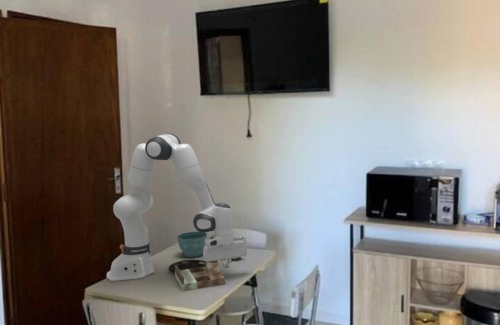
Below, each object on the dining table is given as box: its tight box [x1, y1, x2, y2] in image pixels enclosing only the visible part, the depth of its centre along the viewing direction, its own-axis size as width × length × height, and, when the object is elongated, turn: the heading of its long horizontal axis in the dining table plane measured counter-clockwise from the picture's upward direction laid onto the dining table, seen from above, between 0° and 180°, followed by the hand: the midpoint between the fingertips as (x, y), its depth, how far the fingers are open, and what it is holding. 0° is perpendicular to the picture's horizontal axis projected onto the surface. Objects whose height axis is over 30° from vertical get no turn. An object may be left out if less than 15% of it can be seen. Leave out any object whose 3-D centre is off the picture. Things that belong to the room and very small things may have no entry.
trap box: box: [173, 264, 226, 292], centre depth 228 cm, size 19×19×6 cm
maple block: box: [205, 260, 221, 275], centre depth 230 cm, size 5×5×5 cm
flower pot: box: [176, 231, 208, 258], centre depth 268 cm, size 16×16×11 cm
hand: (226, 267), depth 232 cm, fingers closed
